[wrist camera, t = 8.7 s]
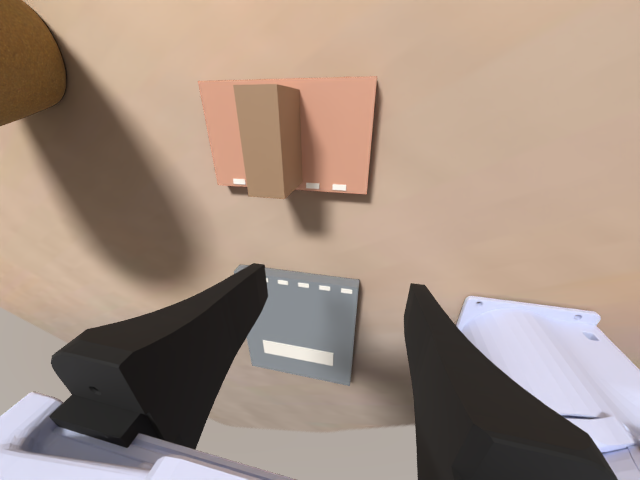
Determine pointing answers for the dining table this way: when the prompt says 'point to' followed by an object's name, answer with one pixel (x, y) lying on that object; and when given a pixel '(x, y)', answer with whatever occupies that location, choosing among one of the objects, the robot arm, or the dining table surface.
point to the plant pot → (27, 63)
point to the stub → (291, 133)
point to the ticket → (306, 325)
